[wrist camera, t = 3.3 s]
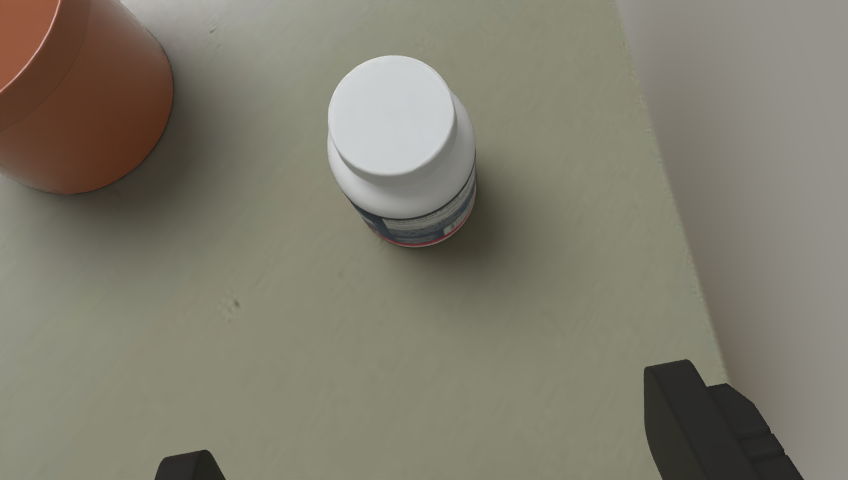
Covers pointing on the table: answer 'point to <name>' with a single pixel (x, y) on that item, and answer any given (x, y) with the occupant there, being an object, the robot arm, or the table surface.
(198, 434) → the table surface
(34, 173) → the terracotta pot
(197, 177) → the table surface
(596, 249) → the table surface
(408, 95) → the pill bottle
